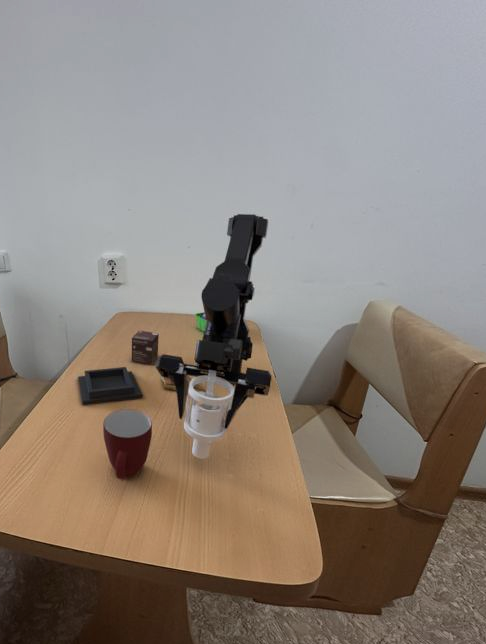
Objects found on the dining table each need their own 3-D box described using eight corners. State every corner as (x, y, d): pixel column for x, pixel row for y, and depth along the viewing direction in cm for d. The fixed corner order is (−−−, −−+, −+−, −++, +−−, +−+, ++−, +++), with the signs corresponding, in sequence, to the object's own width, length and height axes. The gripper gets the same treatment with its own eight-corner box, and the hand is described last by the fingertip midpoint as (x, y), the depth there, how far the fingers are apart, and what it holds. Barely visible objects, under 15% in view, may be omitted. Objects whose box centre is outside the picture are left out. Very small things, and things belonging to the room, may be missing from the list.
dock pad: (131, 374, 98) (131, 364, 97) (142, 398, 87) (142, 387, 86) (78, 379, 95) (77, 370, 94) (82, 405, 84) (81, 394, 83)
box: (131, 361, 105) (130, 337, 102) (138, 353, 110) (138, 330, 107) (151, 365, 103) (152, 340, 99) (158, 356, 108) (159, 333, 105)
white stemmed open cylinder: (220, 442, 68) (234, 372, 61) (221, 470, 62) (236, 396, 55) (182, 436, 69) (191, 366, 62) (179, 463, 63) (188, 389, 56)
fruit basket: (192, 327, 129) (194, 296, 124) (213, 323, 132) (216, 292, 127) (212, 339, 119) (215, 305, 114) (234, 334, 123) (238, 301, 118)
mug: (150, 499, 59) (151, 449, 55) (100, 497, 60) (98, 447, 56) (150, 454, 69) (152, 409, 65) (107, 453, 69) (106, 408, 65)
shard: (205, 396, 88) (206, 389, 87) (177, 403, 85) (177, 396, 84) (182, 376, 97) (182, 369, 96) (155, 381, 94) (156, 375, 93)
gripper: (160, 310, 62) (137, 400, 57) (280, 324, 55) (265, 427, 51) (171, 336, 72) (152, 415, 67) (274, 351, 65) (261, 439, 61)
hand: (202, 423), depth 61 cm, fingers closed on white stemmed open cylinder, 7 cm apart
